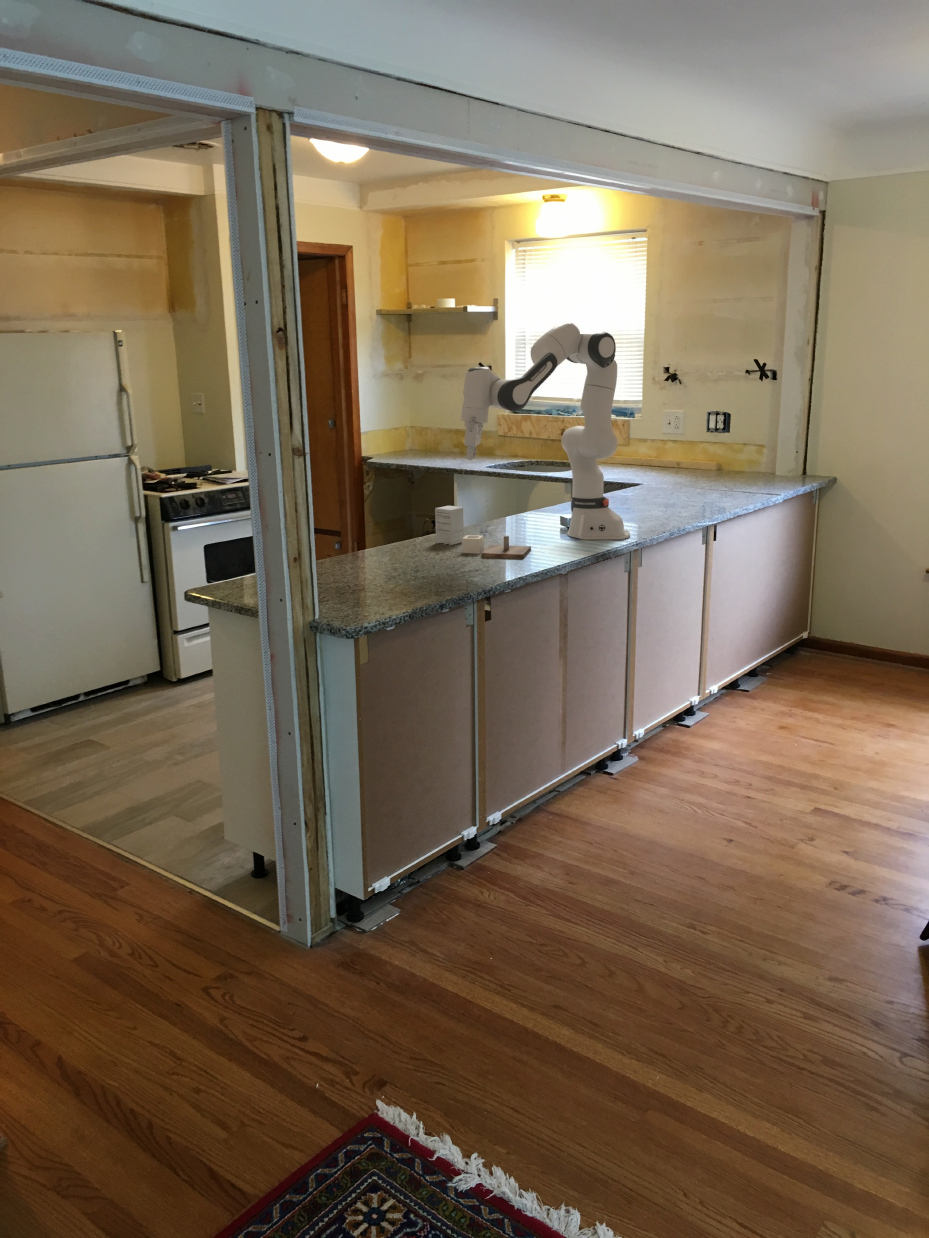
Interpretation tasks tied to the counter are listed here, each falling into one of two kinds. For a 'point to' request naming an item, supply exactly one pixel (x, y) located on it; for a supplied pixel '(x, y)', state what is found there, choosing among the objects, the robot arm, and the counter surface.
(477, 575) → the counter surface
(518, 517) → the counter surface
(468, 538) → the collar
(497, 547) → the pin board
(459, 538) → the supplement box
